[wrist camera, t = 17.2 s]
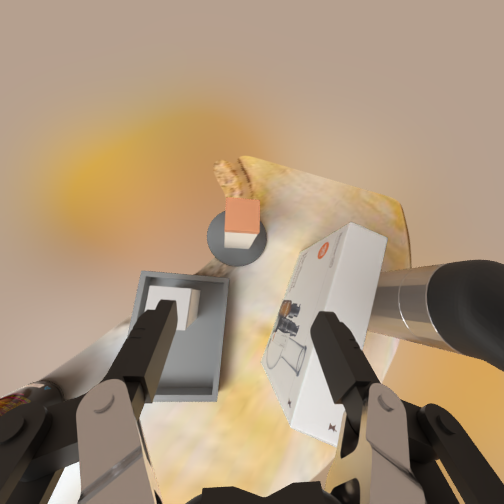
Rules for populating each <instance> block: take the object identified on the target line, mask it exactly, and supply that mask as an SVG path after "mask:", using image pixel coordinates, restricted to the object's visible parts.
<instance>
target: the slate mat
mask: <svg viewBox="0 0 504 504" xmlns="http://www.w3.org/2000/svg"><path fill="white" fill-rule="evenodd" d="M224 230H225V211H224V212H222V213H220V214H218V215H217V216H216V217H215V218H214V219H213V220H212V222H211V224H210V226H209V228H208V231H207V241H208V245H209V248H210V250H211V252H212V253H213V255H214V256H215V257H216V258H217V259H218V260H219V261H221V262H223V263H225V264H227V265H231V266H244V265H247V264H250V263H252V262H253V261H255V260H256V259H257V258H258V257H259V256H260V255H261V254H262V252H263V250H264V248H265V245H266V232H265V228H264V226H263V224H262V223H261V221H260V232H259V234H257V236H256V238H255V240H254V241H253V243H252V245H251V246H250V248H249V249H240V248H224V243H225V232H224Z"/></svg>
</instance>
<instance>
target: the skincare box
mask: <svg viewBox="0 0 504 504" xmlns="http://www.w3.org/2000/svg"><path fill="white" fill-rule="evenodd" d="M387 241H388V238H387V237H385V236H382V235H380V234H378V233H376V232H373V231H371V230H369V229H367V228H365V227H362V226H360V225H358V224H355V223H353V222H350V223H348V224H347V225H345V226H343V227H342V228H340V229H338V230H337V231H335V232H333V233H332V234H330V235H328V236H327V237H325V238H323V239H322V240H320V241H318V242H317V243H315V244H313V245H312V246H310V247H308V248H307V249H305V250H303V251H301V252H300V254H299V257H298V259H297V262H296V265H295V268H294V270H293V273H292V276H291V279H290V281H289V284H288V287H287V290H286V293H285V295H284V298H283V301H282V304H281V307H280V309H279V312H278V315H277V318H276V320H275V323H274V326H273V329H272V332H271V334H270V337H269V340H268V343H267V346H266V348H265V351H264V354H263V357H262V360H261V364H262V366H263V368H264V370H265V372H266V374H267V377H268V379H269V381H270V383H271V385H272V387H273V390H274V392H275V394H276V396H277V398H278V401H279V403H280V405H281V407H282V409H283V412H284V414H285V416H286V418H287V420H288V422H289V425H290V427H291V428H292V429H294V430H296V431H299V432H301V433H304V434H306V435H308V436H311V437H313V438H315V439H318V440H320V441H322V442H325V443H327V444H330V445H332V446H334V447H337V444H338V439H339V433H340V428H341V422H342V417H343V412H344V410H345V408H344V406H343V404H334V402H333V399H332V396H331V393H330V391H329V388H328V385H327V382H326V379H325V376H324V373H323V371H322V368H321V365H320V362H319V359H318V356H317V353H316V351H315V348H314V345H313V342H312V339H311V335H310V329H311V326H312V324H313V322H314V320H315V318H316V316H317V314H318V312H319V311H330V312H334V313H335V314H336V315H337V317H338V319H339V321H340V322H343V323H344V324H345V325H346V326H347V327H348V328H349V329H350V330H351V332H352V334H353V335H354V337H355V339H356V341H357V343H358V344H359V346H360V349H361V350H363V346H364V342H365V337H366V333H367V329H368V324H369V320H370V315H371V311H372V306H373V302H374V298H375V293H376V289H377V285H378V280H379V276H380V271H381V267H382V262H383V258H384V254H385V249H386V245H387Z"/></svg>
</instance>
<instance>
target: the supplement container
mask: <svg viewBox="0 0 504 504" xmlns="http://www.w3.org/2000/svg"><path fill="white" fill-rule="evenodd" d="M31 402H36V403H40V404H42V405H43V406H44V407H48V406H51V405H54V404H58V403H61V402H64V395H63V392H62V390H61V389H60V387H59V386H57V385H56V384H54V383H52V382H48V381H38V382H33V383H30V384H28V385H26V386H24V387H22V388H20V389H17V390H15V391H13V392H11V393H9V394H7V395H5V396H2V397H1V398H0V416H2V415H3V414H5V413H6V412H8V411H10V410H11V409H13V408H15V407H17V406H20V405H22V404H26V403H31Z"/></svg>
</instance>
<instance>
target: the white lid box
mask: <svg viewBox="0 0 504 504" xmlns="http://www.w3.org/2000/svg"><path fill="white" fill-rule="evenodd" d="M200 291H201V290H194V289H189V288H176V287H163V286H150V287H149V292H148V297H147V302H146V307H145V311H146V310H147V309H150V310H155V309H156V306H157V304H158V302H159V301H160V300H161V299H163V300H176V302H177V315H178V323H177V329H176V330H186V329H187V327H188V326H189V325H190V324H192V323H193V322H194V321H195V320H196V319H197V314H198V306H199V299H200Z"/></svg>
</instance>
